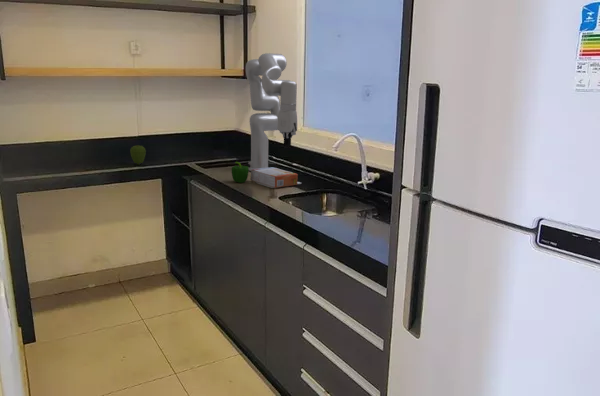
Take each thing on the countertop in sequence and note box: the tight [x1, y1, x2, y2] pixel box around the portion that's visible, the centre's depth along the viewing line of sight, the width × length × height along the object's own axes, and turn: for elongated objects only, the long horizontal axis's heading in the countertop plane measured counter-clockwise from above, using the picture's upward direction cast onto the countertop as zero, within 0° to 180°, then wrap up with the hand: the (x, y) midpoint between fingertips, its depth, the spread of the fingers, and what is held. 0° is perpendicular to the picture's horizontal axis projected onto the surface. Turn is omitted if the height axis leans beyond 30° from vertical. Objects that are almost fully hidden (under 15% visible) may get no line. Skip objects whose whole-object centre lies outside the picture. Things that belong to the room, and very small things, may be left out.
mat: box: [255, 181, 302, 189], centre depth 255 cm, size 14×18×1 cm
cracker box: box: [250, 166, 299, 189], centre depth 254 cm, size 14×6×21 cm
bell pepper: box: [231, 161, 250, 184], centre depth 255 cm, size 8×8×10 cm
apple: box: [129, 144, 147, 165], centre depth 291 cm, size 9×8×12 cm
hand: (287, 146), depth 246 cm, fingers closed
